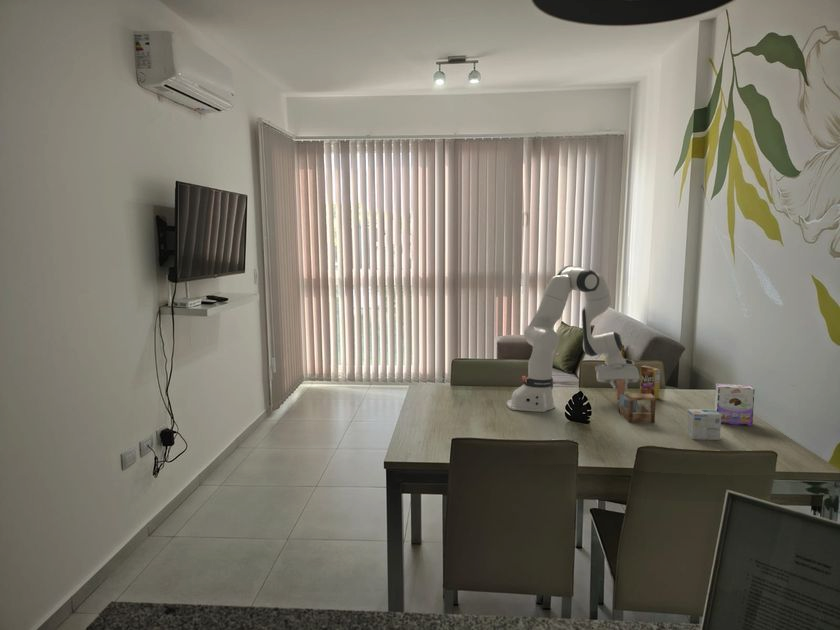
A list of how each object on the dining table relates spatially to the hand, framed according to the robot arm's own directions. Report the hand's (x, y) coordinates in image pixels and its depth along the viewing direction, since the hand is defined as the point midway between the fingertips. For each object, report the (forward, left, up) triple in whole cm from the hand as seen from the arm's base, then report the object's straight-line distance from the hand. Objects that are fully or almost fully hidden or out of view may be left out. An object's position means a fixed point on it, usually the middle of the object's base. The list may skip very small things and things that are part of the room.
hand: (620, 389), depth 262 cm
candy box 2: (+39, -28, -7) cm, 49 cm away
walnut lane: (0, -23, -7) cm, 24 cm away
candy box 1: (+18, +11, -7) cm, 22 cm away
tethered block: (0, -5, -6) cm, 8 cm away
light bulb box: (+18, -46, -7) cm, 50 cm away
